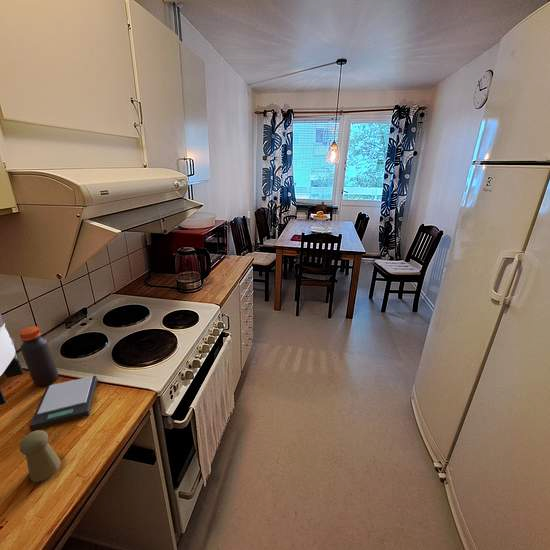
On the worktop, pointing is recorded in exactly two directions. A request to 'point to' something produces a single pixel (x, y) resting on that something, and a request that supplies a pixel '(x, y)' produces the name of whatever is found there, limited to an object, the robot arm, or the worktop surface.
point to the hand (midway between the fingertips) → (6, 389)
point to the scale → (64, 402)
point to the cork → (39, 455)
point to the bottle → (38, 357)
